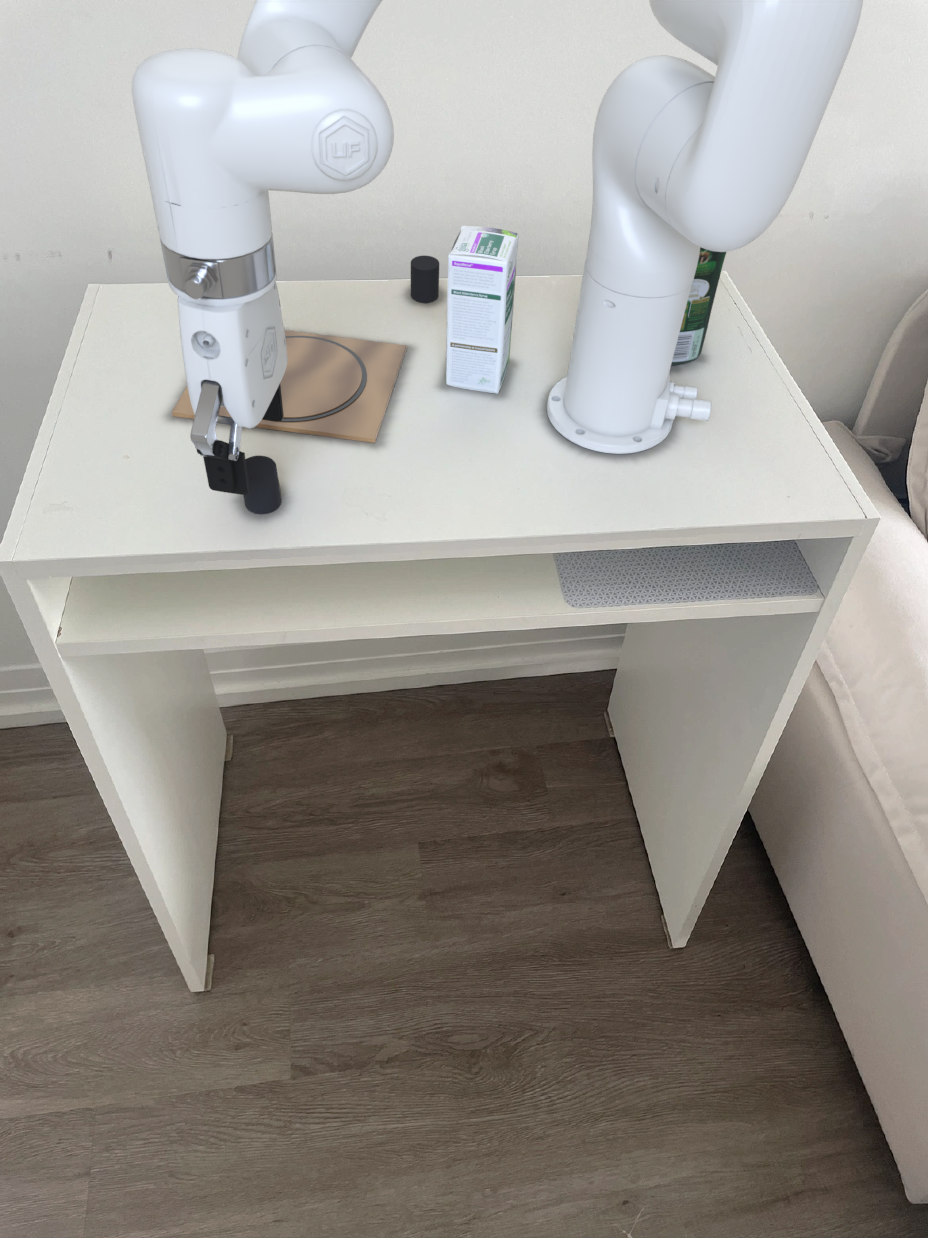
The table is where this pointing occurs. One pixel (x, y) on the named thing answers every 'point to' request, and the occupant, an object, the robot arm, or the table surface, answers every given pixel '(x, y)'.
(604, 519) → the table surface
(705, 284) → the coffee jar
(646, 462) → the table surface
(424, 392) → the table surface
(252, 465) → the black cylindrical block
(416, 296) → the black cylinder
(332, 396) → the sketch board
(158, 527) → the table surface
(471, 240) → the syrup box
